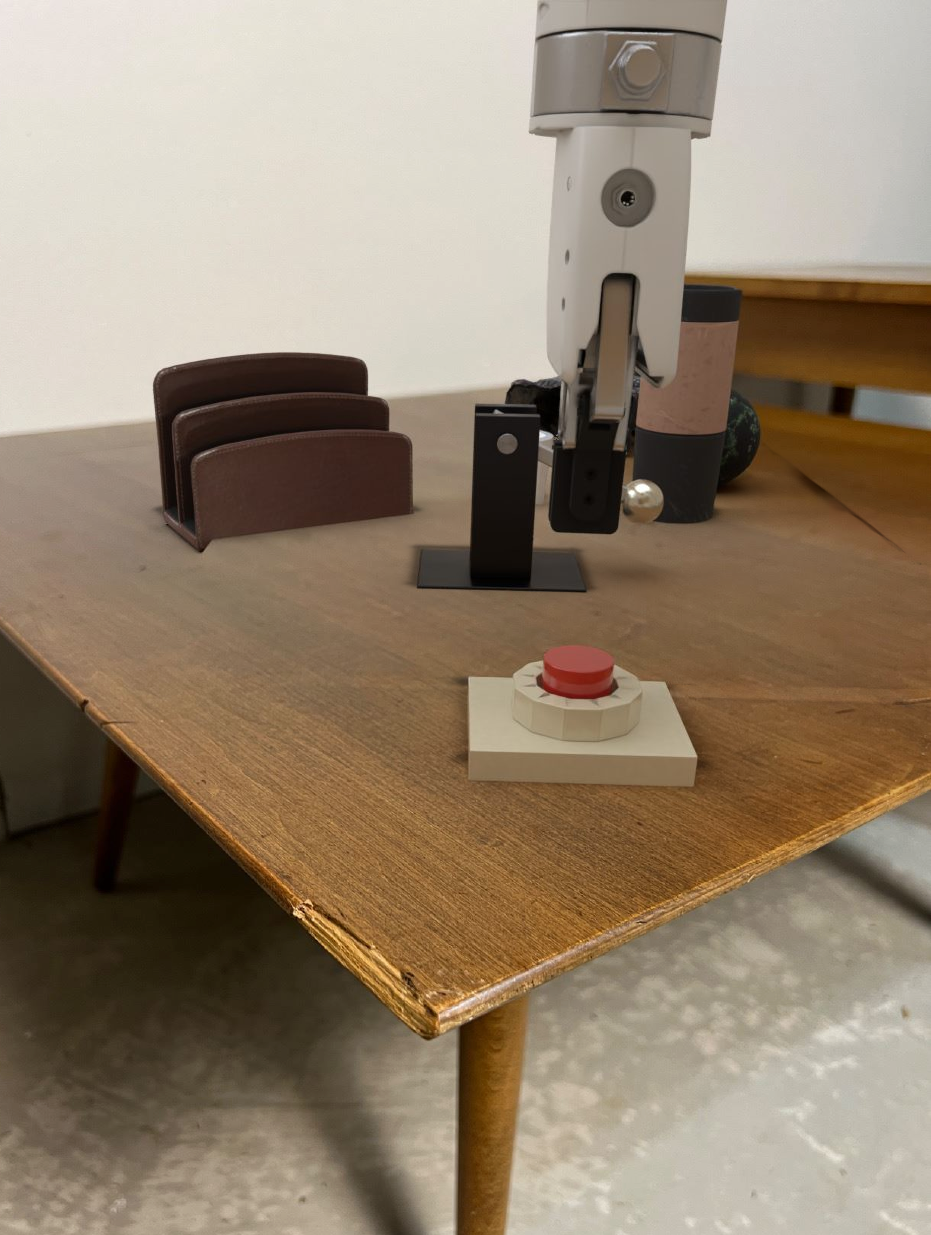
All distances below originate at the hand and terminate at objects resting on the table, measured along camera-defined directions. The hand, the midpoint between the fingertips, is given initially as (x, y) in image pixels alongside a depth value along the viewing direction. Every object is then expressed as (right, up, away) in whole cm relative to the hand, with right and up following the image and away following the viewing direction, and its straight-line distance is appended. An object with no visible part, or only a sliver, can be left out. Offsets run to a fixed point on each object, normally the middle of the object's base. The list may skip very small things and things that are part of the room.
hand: (582, 528), depth 51 cm
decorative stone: (+21, +13, +58) cm, 63 cm away
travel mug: (+15, +7, +45) cm, 48 cm away
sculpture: (+15, +25, +85) cm, 90 cm away
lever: (+3, +7, +26) cm, 27 cm away
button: (0, -8, +4) cm, 9 cm away
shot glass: (+1, +9, +49) cm, 50 cm away
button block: (0, -11, +5) cm, 12 cm away
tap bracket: (-2, 0, +29) cm, 29 cm away
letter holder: (-19, +6, +43) cm, 48 cm away
